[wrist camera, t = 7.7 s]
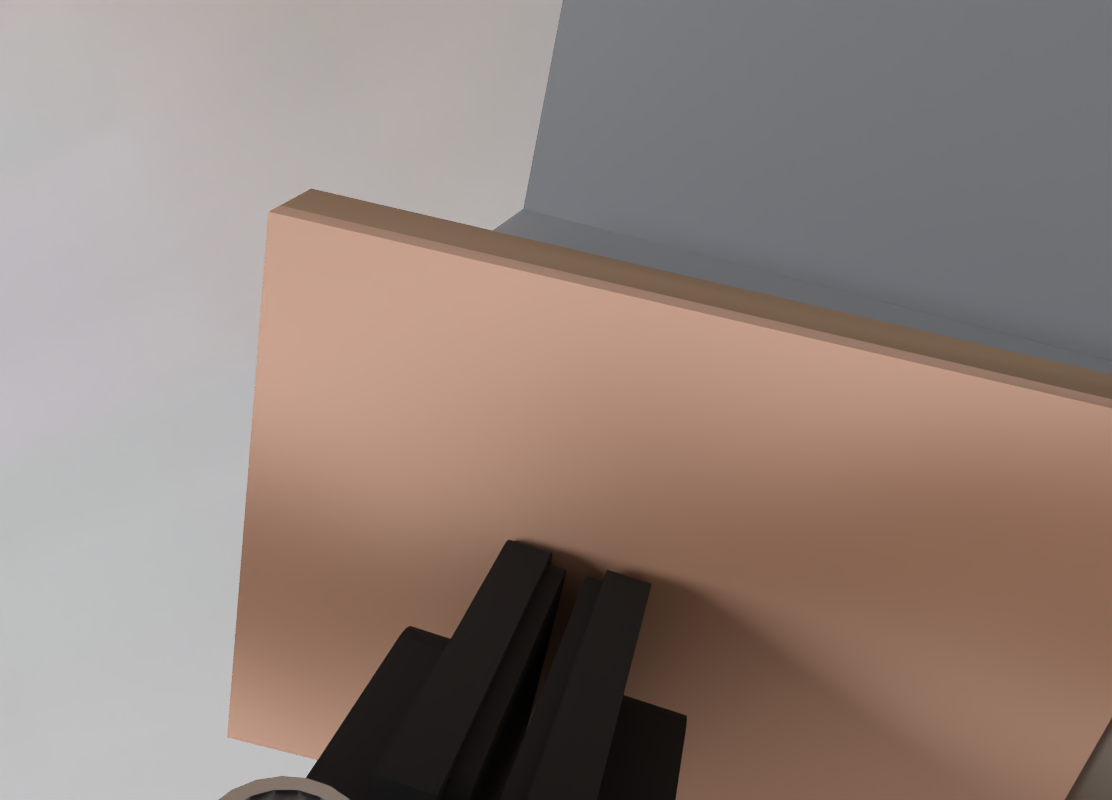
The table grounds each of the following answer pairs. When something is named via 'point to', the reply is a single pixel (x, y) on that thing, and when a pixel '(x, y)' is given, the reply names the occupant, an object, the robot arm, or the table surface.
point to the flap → (679, 508)
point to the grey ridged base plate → (845, 157)
